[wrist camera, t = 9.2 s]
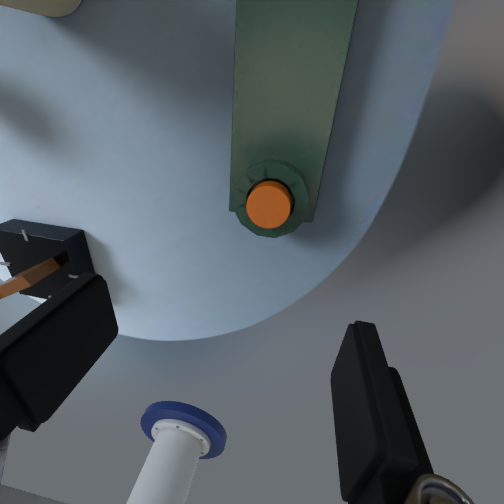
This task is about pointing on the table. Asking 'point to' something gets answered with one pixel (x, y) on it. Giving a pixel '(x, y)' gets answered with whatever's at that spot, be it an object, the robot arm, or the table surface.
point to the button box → (285, 99)
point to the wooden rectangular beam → (28, 277)
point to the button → (269, 204)
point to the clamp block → (44, 253)
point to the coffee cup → (44, 6)
